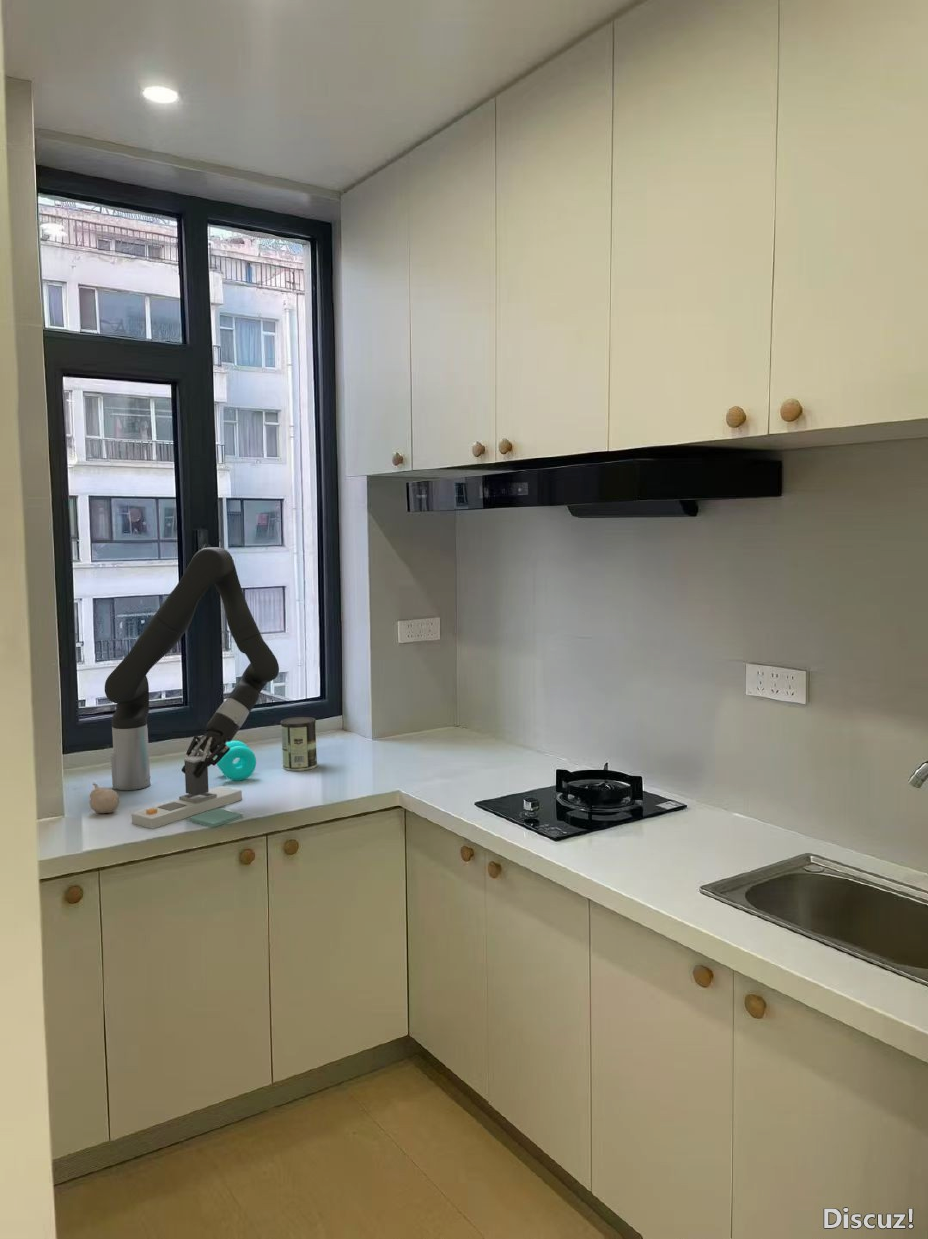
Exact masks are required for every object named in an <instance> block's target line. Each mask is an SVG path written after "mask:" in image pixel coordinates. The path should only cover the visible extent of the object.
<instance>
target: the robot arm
mask: <svg viewBox="0 0 928 1239" xmlns="http://www.w3.org/2000/svg"><path fill="white" fill-rule="evenodd" d="M237 572H238V571H237V568H236V565H235V562H234V559H233V557H232V555H231V553H230V552H229V551H228V550H227V549H225V548H222V547H217V546H216V547H215V546H214V547H213V546H212V547H204V548H201V549H199V550H198V551H197V552H195V553H194V555H193V557H192V558H191V560H190V561H189V564H188V565H187V566H186V569H185V571H184V573H183V575H182V576H181V578H180V580H179V581H178V582H177V584H176V586H174V588H173V590H172V591H170V594H169V595H168V596H167V597H166V598H165V600H164V601H163V603H162V604H161V606H160V607H159V608H158V609H157V611H155V613H154V615H153V616H152V617H151V618H150V620H149V622H148V624H147V626H145V628H144V629H143V631H142V632H141V634H140V635H139V637H138V638H137V639H136V641H135V643H134V645H133V646H132V647H131V649H130V651H129V652H128V654H127V655H126V656H125V657H124V658H123V659H122V660H121V661H120V663H119V664H118V665H117V666H116V668H114V670H113V671H111V672H110V673H109V675H108V676H107V678H106V680H105V683H104V694H105V696H106V699H107V700H109V702H111V703H114V704H116V708H115V712H114V713H113V715H112V717H111V730H112V731H111V734H112V748H113V749H112V750H113V753H111V755H110V764H111V768H110V769H111V780H112V781H111V782H112V790H119V791H135V790H141V789H145V788H148V787H149V786H150V785H151V770H150V769H151V768H150V750H149V734H148V732H149V730H148V716H149V713H150V712H149V711H150V687H149V680H148V677H147V675H148V673H149V672H150V670H151V669H153V667H154V666H155V665H156V664H157V663H158V662H159V661H160V660H161V659H163V658H164V657H165V656H166V655H167V654H168V653H169V652H170V651H171V650H173V648H174V647H175V646H176V645H177V644H178V642H179V641H180V640H181V638H182V637H183V636H184V634H185V633H186V632H187V630H188V628H189V627H190V625H191V623H192V620H193V618H194V614H195V612H196V608H197V606H198V604H199V602H200V601H201V599H202V597H203V596H205V593H206V592H207V591H208V590H209V588H210V587H211V586H212V585H213V584H214V586H215V588H216V589H217V591H218V593H219V595H220V599H222V603H223V607H224V608H223V609H224V613H225V619H226V622H227V625H228V630H229V631H230V634H231V635H232V636H231V637H232V639H233V641H234V642H235V644H236V648H238V650H239V651H240V653H242V654H245V656H246V658H247V659H248V661H249V664H248V666H247V667H246V669H245V670H244V671H243V673H242V675H241V677H240V678H239V680H238V683H237V684H236V686H234V688H233V689H232V691H231V692H230V693H229V695H227V696H228V697H227V698H225V700H224V701H223V702H222V703H221V705H220V706H219V707H218V708H217V709H216V711H215V713H214V714H213V715H212V717H211V718H210V720H209V721H208V722H207V724H206V730H207V731H206V732H205V733H204V734H203V735H202V736H198V735H194V737H193V738H192V740H191V742H190V745H189V746H188V749H187V750H186V753H185V754H186V755H187V758H188V757H192V756H196V755H198V756H203V758H202V760H201V761H202V762H199V764H198V765H197V766H196V768H195V769H194V771H193V772H192V775H194V776H195V777H196V778H199V777H200V776H201V775H202V774H203V772H204V771H205V769H206V768H207V766H208V768H209V767H210V766H211V765H212V766H217V763H218V762H219V761H220V760H221V759H222V758H223V756H224V755H225V754H226V753H227V752H228V751H229V750H230V748H229V747H228V746H227V745H226V743H227V742H230V741H233V740H234V739H233V738H234V737H235V736H236V735H237V733H238V732H239V730H240V728H241V727H242V726H243V724H244V723H245V721H246V720H247V717H248V716H249V714H250V713H251V711H252V710H253V708H254V707H255V705H256V704H257V702H258V700H259V698H260V694H261V693H262V691H263V689H264V688H265V686H266V685H267V683H269V682H272V681H273V680H275V679H277V677H278V676H279V673H280V666H279V662H278V659H277V658H276V656H275V653H273V651H272V650H271V649H270V647H269V645H268V644H267V643H266V642H265V640H264V639H263V636H262V634H261V631H260V629H259V627H258V625H257V623H256V621H255V619H254V616H253V615H252V612H251V610H250V608H249V605H248V603H247V600H246V597H245V595H244V592H243V588H242V586H241V583H240V579H239V576H238V573H237ZM216 756H218V757H217V758H216ZM181 773H183V774H185V764H183V766H182V768H181Z"/></svg>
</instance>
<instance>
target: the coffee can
mask: <svg viewBox="0 0 928 1239" xmlns="http://www.w3.org/2000/svg"><path fill="white" fill-rule="evenodd" d="M316 721H317V719H316V718H314V717H310V716H294V717H293V716H292V717H288V718H284V719H282V720H280V730H281V731H280V732H281V752H282V769H283V770H285V771H291V772H299V771H300V772H301V771H308V770H313V769H315V768H317V767H318V757H317V739H316V738H317V733H316Z"/></svg>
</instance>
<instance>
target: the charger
mask: <svg viewBox="0 0 928 1239" xmlns="http://www.w3.org/2000/svg"><path fill="white" fill-rule="evenodd" d="M198 755H199V754H197V755H196V756H192V757H188V756H187V757H186V758H183V760H184V765H185V773H184V782H185V783H184V784H185V794H192V795H195V796H196V795H199V794H203V793H206V792H209V791H208V790H209V773H208V772H209V771H208V770H209V767H208V766H207V768H206V769H205V771H204V772H203V774H202V775H201V776H200V777H199V778H196V777H195V776H194V775H192V772H193V771H194V769H195V768H196V766H197V765H198V764H199V762H202V761H201V760H202V758H203V756H198Z"/></svg>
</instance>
